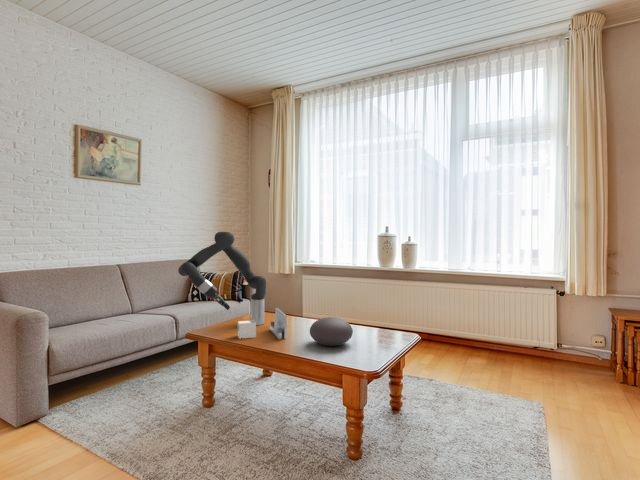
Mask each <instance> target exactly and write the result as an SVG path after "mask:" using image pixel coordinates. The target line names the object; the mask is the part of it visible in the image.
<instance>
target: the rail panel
mask: <svg viewBox="0 0 640 480" xmlns="http://www.w3.org/2000/svg"><path fill="white" fill-rule="evenodd" d="M274 312H275V314H274V315H275V318H274V319H275V320H273V321H270V324H269V327H270V328H269V329H270V331H271V333H273V335H274V336H275V337H276V338H277V339H278V340H282V339H284V340H287V335H288V334H287V331H288V330H287V327H288V326H287V324H288V322H287V318H288V317H287V314H285V313H284V312H283V310H281V309H279V308H278V307H275V311H274Z"/></svg>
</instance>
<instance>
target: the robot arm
mask: <svg viewBox="0 0 640 480" xmlns="http://www.w3.org/2000/svg"><path fill="white" fill-rule="evenodd" d="M213 238H214V243H212V244H211V245H209V246H207V247H205V248H203V249H201V250H199V251H198V252H197V253H195V254H194V255H193V256H192V257H191V258H189V259H188V260H187V261H185V262H184V263H182V264H181V265H180V266H179V267H178V269H177V270H178V274H179V275H180V276H182V277H187V276H188V278H189V279H190V282H191V283H192V284H193V285H194V286H195V287H196V288H197V290H198V291H199V292H200V293H202V294H203V295H204V297H206V298H207V299H211V298H212V297H213V298H212V299H213V301H215V302H216V303H218V304H219V305H220V306H222V307H223V308H225V309H226V310H227V311H228V310H230V309H231V306H230V305H229V304H228V303H227V302H226V301H225V300H224V298H223V297H222V296H221V295H220V294H219V293H217V292H218V290H219V289H218V287H216V286H215V285H214V284H213V283H212V282H211V281H210V280H209V279H206V277H205V276H204V275H203V274H201V273H200V270H198V268H199V267H201V266H202V265H204V263H205V262H207V261H208V260H210V259H211V258H213V256H215V255H217V254H218V253H220V252H222V251H223V252H224V253H225V255H226V256H227V257H228V258H229V260H230V261H231V262H232V264H233V265H234V266H235V268H236V269H237V270H238V271H239V273H240V275H242V276H243V278H244V280H245V281H246V283H247V285H248V286H249V287H250V288H251V289H253V290H255V293H253V294H251V296H250V320H255V321H256V326H260V325H264V324H265V296H266V292H267V291H266V290H267V279H266V277H265V276H263V275H257V274H255V273H254V272H253V271H252V270H251V263H250V260H249V258H248V257H247V256H246V254H244V253H243V252H242V251H241V250H240V249H238V248H237V247H235V246H234V245H233V244H234V243H235V236H234V234H233V233H232V232H230V231H218V232H216V233H215V235H214V237H213Z"/></svg>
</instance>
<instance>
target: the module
mask: <svg viewBox="0 0 640 480" xmlns="http://www.w3.org/2000/svg"><path fill="white" fill-rule="evenodd" d="M236 329H237V338H238V339H239V340H242V339H249V338H250V339H252V338H257V325H256V321H255V320H251V319H250V320H240V321H237V324H236ZM241 338H242V339H241Z"/></svg>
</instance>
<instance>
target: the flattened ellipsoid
mask: <svg viewBox="0 0 640 480" xmlns="http://www.w3.org/2000/svg"><path fill="white" fill-rule="evenodd" d="M353 331H354V330H353V328H352V325H351V324H350V323H349V322H348V321H347V320H345V319H342V318H340V317H333V316H329V317H327V316H326V317H322V318H319V319H317V320H316V321H314V322H313V323H312V324H311V326H310V327H309V335H310V337H311V338H312V340H314V341H315V342H316V343H318V344H321V345H324V346H329V347H330V346H331V347H333V346H335V347H336V346H340V345H342V344H346V343H347V342H349V340H351V339H352V337H353V333H354V332H353Z"/></svg>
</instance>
